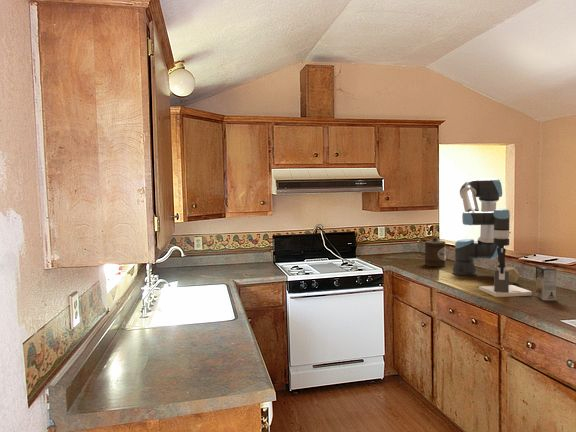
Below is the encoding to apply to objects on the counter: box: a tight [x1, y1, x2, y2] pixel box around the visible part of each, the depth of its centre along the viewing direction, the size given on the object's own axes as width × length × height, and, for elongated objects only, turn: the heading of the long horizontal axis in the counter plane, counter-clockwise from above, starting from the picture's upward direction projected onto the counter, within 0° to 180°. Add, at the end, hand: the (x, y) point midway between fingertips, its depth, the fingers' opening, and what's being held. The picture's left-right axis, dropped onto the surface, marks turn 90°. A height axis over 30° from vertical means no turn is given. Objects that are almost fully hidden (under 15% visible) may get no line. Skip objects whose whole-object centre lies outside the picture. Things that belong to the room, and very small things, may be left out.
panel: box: [478, 284, 533, 298], centre depth 219 cm, size 16×20×7 cm
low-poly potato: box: [505, 266, 520, 285], centre depth 240 cm, size 15×11×12 cm
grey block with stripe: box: [493, 268, 510, 293], centre depth 215 cm, size 7×7×12 cm
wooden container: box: [424, 236, 446, 268], centre depth 304 cm, size 15×15×22 cm
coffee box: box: [535, 265, 557, 301], centre depth 206 cm, size 9×6×16 cm
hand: (501, 276), depth 216 cm, fingers open, 13 cm apart
